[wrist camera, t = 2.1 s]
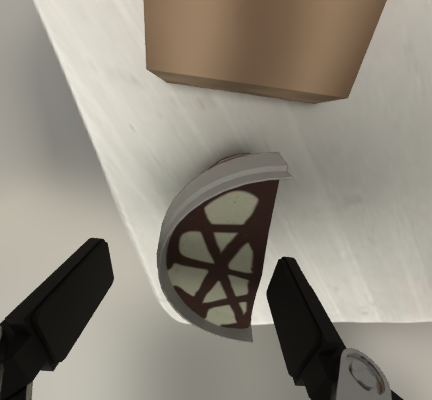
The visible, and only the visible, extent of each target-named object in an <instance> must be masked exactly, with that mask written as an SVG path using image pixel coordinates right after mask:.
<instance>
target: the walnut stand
mask: <svg viewBox="0 0 432 400" xmlns="http://www.w3.org/2000/svg"><path fill="white" fill-rule="evenodd" d="M386 1H387V0H144V21H145V45H146V69H147V70H149V71H150V72H152V73H153V74H155V75H156V76H158V77H159V78H161V79H162V80H164V81H166V82H168V83H175V84H182V85H189V86H196V87H203V88H210V89H217V90H224V91H231V92H238V93H245V94H252V95H259V96H266V97H273V98H280V99H287V100H294V101H301V102H308V103H321V102H327V101H333V100H339V99H345V98H348V97H349V94H350V92H351V89H352V86H353V84H354V81H355V79H356V76H357V74H358V71H359V69H360V66H361V64H362V61H363V59H364V56H365V54H366V51H367V49H368V46H369V44H370V41H371V39H372V36H373V33H374V31H375V28H376V26H377V23H378V21H379V18H380V16H381V13H382V11H383V8H384V6H385V3H386Z"/></svg>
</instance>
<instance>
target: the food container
mask: <svg viewBox="0 0 432 400" xmlns="http://www.w3.org/2000/svg"><path fill="white" fill-rule="evenodd" d="M287 167H288V165H287V164H286V162H285V161H284V159H283V158H282V156H281V155H280V153H279V152H275V153H257V154H236V155H233V156H230V157H227V158H224V159H221V160H220V161H219V162H217V163H216V164H214V165H213V166H212V167H210V168H209V169H208V170H207V171H205V172H203V173H201V174H200V175H199V176H198V177H196V178H195V179H194V180H192V181H191V182H190V183H189V184H187V185H186V186H185V187H184V188H183V190H182V191H181V192H180V193H179V194H178V195H177V196H176V197H175V199H174V200H173V202H172V204H171V205H170V207H169V208H168V210H167V212H166V215H165V217H164V220H163V223H162V227H161V232H160V238H159V244H158V250H157V268H158V276H159V281H160V285H161V289H162V291H163V293H164V295H165V297H166V299H167V301H168V302H169V303H170V305H171V306H172V307H173V309H174V310H175V311H176V312H177V313H178V314H179V315H180V316H181V317H182V318H184V319H185V320H186V321H188V322H189V323H191V324H192V325H194V326H195V327H197V328H199V329H201V330H203V331H205V332H207V333H210V334H212V335H215V336H218V337H221V338H225V339H228V340H233V341H239V342H247V343H253V338H252V330H251V315H252V309H253V305H254V300H255V296H256V293H257V290H258V287H259V283H260V280H261V276H262V271H263V264H264V257H265V251H266V245H267V239H268V233H269V228H270V223H271V218H272V213H273V208H274V203H275V198H276V193H277V188H278V183H279V180H283V179H292V176H291V175H290V174H289V173H288V172H287Z"/></svg>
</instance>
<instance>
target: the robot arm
mask: <svg viewBox="0 0 432 400" xmlns="http://www.w3.org/2000/svg"><path fill="white" fill-rule="evenodd" d="M113 280H114V276H113V271H112V264H111V259H110V253H109V248H108V243H107V242H105V240H104V239H99V238H90V239H88V240H87V241H86V242H85V243H84V244H83V245H82V246H81V247H80V248H79V249H78V250H77V251H76V252H75V253H74V254H72V255H71V256H70V257H69V258H68V259H67V260H66V261H65V262H64V263H63V264H62V265H61V266H60V267H59V268H58V269H57V270H55V271H54V272H53V273H52V274H51V275H50V276H49V277H48V278H47V279H46V280H45V281H44V282H43V283H42V284H41V285H40V286H39V287H38V288H36V289H35V290H34V291H33V292H32V293H31V294H30V295H29V296H28V297H27V298H26V299H25V300H24V301H23V302H22V303H21V304H19V305H18V306H17V307H16V308H15V309H14V310H13V311H12V312H11V313H10V314H9V315H8V316H7V317H6V318H5V320H4V321H2V322H1V323H0V400H32V386H33V380H34V378H35V377H36V375H37V374H38V373H39V371H40V370H42V371H54V369H55V368H56V366H57V365H58V363H59V362H62V361H63V360H64V359H65V358H66V356H67V355H68V353H69V352H70V350H71V349H72V347H73V345H74V344H75V342H76V341H77V339H78V338H79V336H80V334H81V333H82V331H83V330H84V328H85V326H86V325H87V323H88V322H89V320H90V318H91V317H92V315H93V314H94V312H95V310H96V309H97V307H98V306H99V304H100V302H101V301H102V299H103V298H104V296H105V295H106V293H107V292H108V290H109V288H110V287H111V285H112V283H113ZM267 300H268V303H269V307H270V310H271V314H272V317H273V321H274V324H275V328H276V331H277V335H278V338H279V342H280V345H281V349H282V352H283V356H284V360H285V363H286V367H287V370H288V373H289V375H290V376H291V377H293V380H294V383H295V385H296V386H305V387H306V390H307V393H308V396H309V400H403V399H402V398H400V397H399V396H398V395H397V394H396V393H394V392H393V391H392V390H391V389H390V386H389V383H388V381H387V379H386V377H385V375H384V374H383V372H382V371H381V369H380V368H379V367H378V366H377V365H376V364H375V363H374V361H373V360H371V359H370V358H369V357H368V356H367V355H365V354H364V353H362V352H360V351H359V350H356V349H352V348H346V347H345V345H344V343H343V342H342V340H341V338H340V336H339V335H338V333H337V331H336V329H335V327H334V326H333V324H332V322H331V320H330V319H329V317H328V315H327V313H326V311H325V310H324V308H323V306H322V304H321V303H320V301H319V299H318V297H317V296H316V294H315V292H314V290H313V289H312V287H311V286H310V285H309V283H308V281H307V280H306V278H305V276H304V274H303V272H302V271H301V269H300V267H299V265H298V264H297V262H296V260H295V259H294V258H292V257H282V258H281V259H279V260H278V262H277V265H276V268H275V270H274V273H273V276H272V278H271V281H270V284H269V286H268V289H267Z"/></svg>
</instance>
